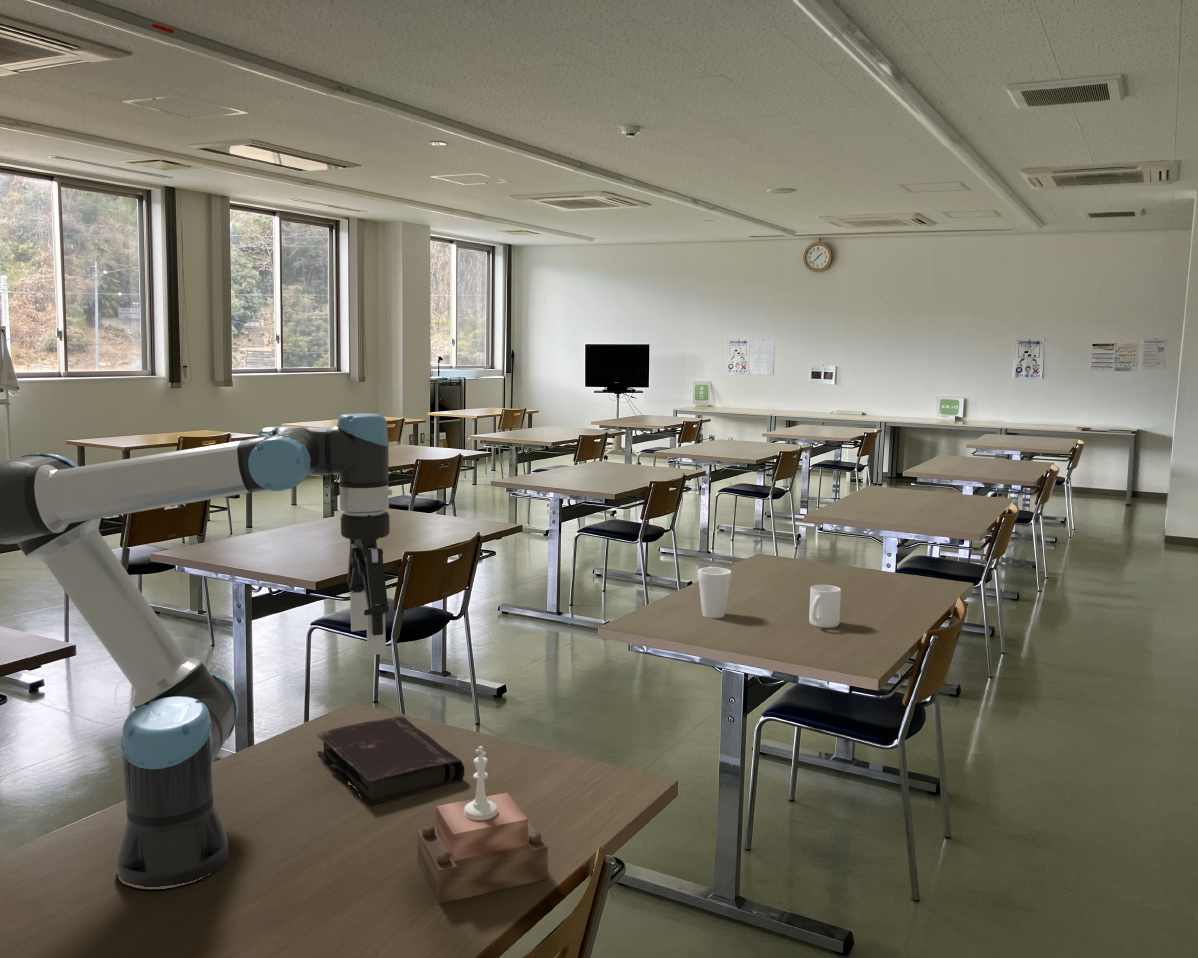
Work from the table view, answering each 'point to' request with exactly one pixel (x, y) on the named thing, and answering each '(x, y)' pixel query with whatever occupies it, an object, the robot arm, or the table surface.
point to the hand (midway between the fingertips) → (367, 641)
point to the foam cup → (714, 590)
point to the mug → (824, 606)
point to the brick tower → (480, 851)
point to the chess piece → (480, 792)
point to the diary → (387, 759)
